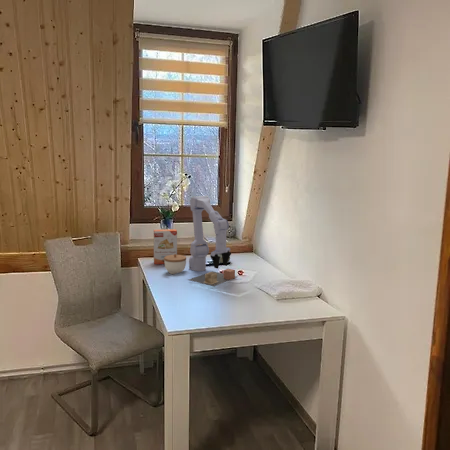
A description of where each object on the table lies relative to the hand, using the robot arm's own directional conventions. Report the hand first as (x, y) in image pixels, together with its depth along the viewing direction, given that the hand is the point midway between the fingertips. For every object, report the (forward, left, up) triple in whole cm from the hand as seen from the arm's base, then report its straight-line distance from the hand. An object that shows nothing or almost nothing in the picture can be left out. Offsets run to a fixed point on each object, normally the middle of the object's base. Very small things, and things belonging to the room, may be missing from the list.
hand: (220, 266), depth 260 cm
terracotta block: (+2, +6, -7) cm, 10 cm away
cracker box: (-50, +10, -9) cm, 51 cm away
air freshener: (-24, +33, -9) cm, 41 cm away
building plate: (-5, 0, -8) cm, 10 cm away
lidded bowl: (-31, -2, -9) cm, 32 cm away
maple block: (-2, -6, -7) cm, 10 cm away
